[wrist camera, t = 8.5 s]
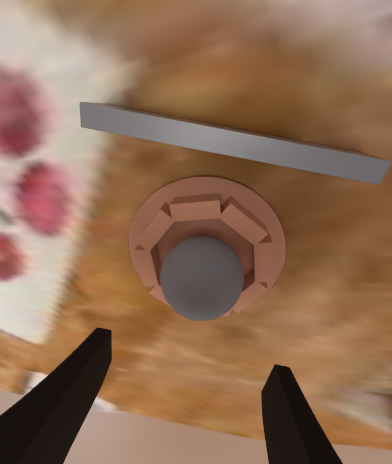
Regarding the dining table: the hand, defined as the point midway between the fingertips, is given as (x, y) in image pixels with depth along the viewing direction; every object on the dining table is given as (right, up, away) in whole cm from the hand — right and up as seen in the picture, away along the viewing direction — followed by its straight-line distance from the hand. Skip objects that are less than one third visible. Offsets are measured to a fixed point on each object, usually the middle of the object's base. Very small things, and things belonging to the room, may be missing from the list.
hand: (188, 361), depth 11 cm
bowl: (+1, +4, +8) cm, 9 cm away
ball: (+1, +3, +5) cm, 6 cm away
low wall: (+2, +12, +4) cm, 13 cm away
